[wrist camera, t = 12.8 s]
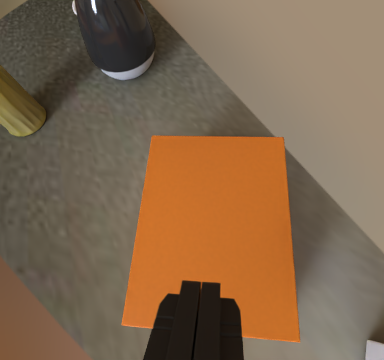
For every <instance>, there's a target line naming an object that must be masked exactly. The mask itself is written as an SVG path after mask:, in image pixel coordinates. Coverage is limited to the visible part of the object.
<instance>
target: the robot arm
mask: <svg viewBox="0 0 384 360" xmlns="http://www.w3.org/2000/svg"><path fill="white" fill-rule="evenodd" d="M220 289H221V283H215V282H202V287H201V282H200V281H187V280H183V281H182V284H181V289H180V293H179V294H171V293H168V294H167V295H166V296H165V298H164V299H163V300H162V301H161V302H160V304H159V307H158V311H157V314H156V319H155V321H154V324H153V329H152V331H151V335H150V338H149V342H148V345H147V348H146V352H145V355H144V359H143V360H244V356H243V341H242V326H241V310H240V309H239V307H238V305H237V303H236V301H235V299H233V298H220Z"/></svg>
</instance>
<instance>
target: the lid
mask: <svg viewBox="0 0 384 360" xmlns="http://www.w3.org/2000/svg"><path fill="white" fill-rule="evenodd" d="M183 280H187V281H200V282H201V287H202V282H215V283H221V289H220V298H233V299H235V301H236V303H237V305H238V307H239V309H240V310H241V326H242V337H248V338H259V339H269V340H280V341H290V342H300V333H299V320H298V308H297V295H296V283H295V270H294V258H293V246H292V233H291V221H290V208H289V196H288V183H287V171H286V158H285V146H284V138H283V137H219V136H152V139H151V146H150V152H149V158H148V164H147V171H146V177H145V183H144V189H143V195H142V202H141V208H140V214H139V220H138V226H137V233H136V239H135V245H134V251H133V257H132V264H131V270H130V276H129V282H128V288H127V295H126V301H125V307H124V313H123V320H122V325H123V326H133V327H144V328H153V324H154V321H155V319H156V314H157V311H158V307H159V304H160V302H161V301H162V300H163V299H164V298H165V296H166V295H167V294H168V293H171V294H179V293H180V289H181V284H182V281H183Z"/></svg>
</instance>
